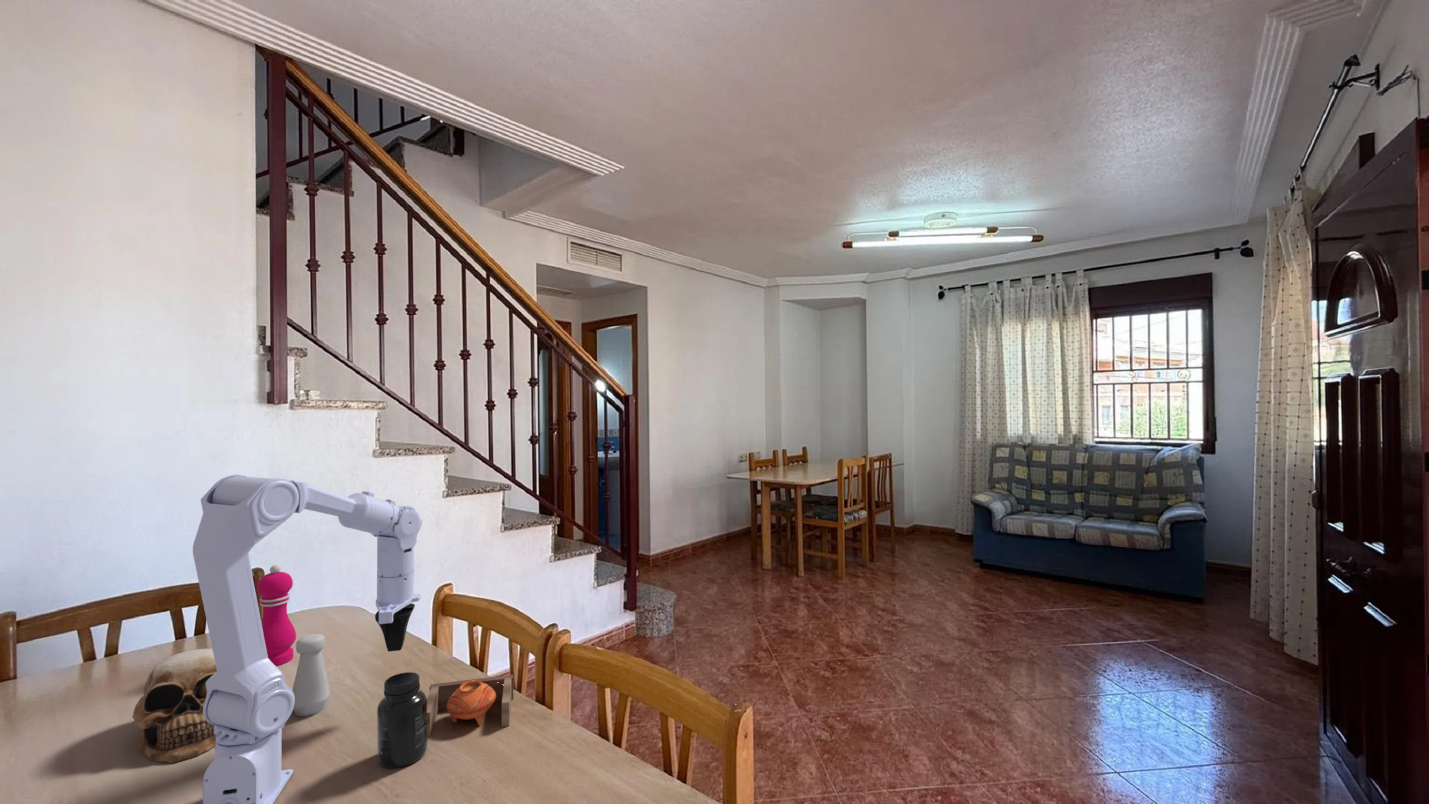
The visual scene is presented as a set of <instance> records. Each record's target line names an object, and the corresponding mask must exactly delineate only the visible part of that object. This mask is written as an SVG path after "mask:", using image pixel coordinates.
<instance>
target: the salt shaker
mask: <svg viewBox="0 0 1429 804" xmlns="http://www.w3.org/2000/svg"><path fill="white" fill-rule="evenodd" d="M325 647H326V637H325V635H323V634H320V633H313V634H312V633H311V634H307V635H304V636H302V637H300V638H299V639H298V640H297V641H295V650H296V653H297V654H300V655H299V660H298V665H297V670H296V674H295V676H294V682H293V686H292V689H291V690H292V691H293V693H294V697H295V703H294V708H293V710H292V711H294V714H295V715H296V716H300V717H310V716H312V715H316V714H318V713H320V712H321V711H322V710H323V709H325V707H326V705H327V704H328V700H329V698H330V695H331V692H330V691H331V690H330V686H329V685H330V684H329V681H328V676H327V670H326V665H325V660H324V655H323V652H322V650H323V649H324V648H325Z"/></svg>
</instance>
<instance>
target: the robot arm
mask: <svg viewBox="0 0 1429 804" xmlns="http://www.w3.org/2000/svg"><path fill="white" fill-rule="evenodd" d="M200 502H201V503H200V505H201V510H202V516H201V519H200V522H199V525H198V528H197V531H196V535H195V539H194V540H193V545H192V556H193V560H194V565H195V571H196V576H197V580H198V585H199V591H200V594H201V599H202V604H203V609H204V610H203V611H204V614H205V619H206V623H207V628H208V632H209V633H208V634H209V637H210V643H211V649H213V654H214V659H215V664H216V668H217V672H216V673H215V674H213V675H212V676H211V677H210V678H209V679H208V680H207V681H206V688H207V696H206V699H205V703H204V706H203V715H204V718H205V720H206V721H207V722H208V723H210V724H213V725H214V734H216V746H215V751H214V756H213V758H212V760H211V762H210V763H209V765H208V767H207V768H206V770H205V772H204V774H203V777H202V779H203V780H202V804H274V803H275V801H276V800H277V798H278V796H279V795H280V794H281V792H282V790H283V789H284V787H285V786H286V784H287V783H288V781H289V779H290V778H291V777H292V775H293V773H294V769H293V768H289V769H282V763H283V762H282V761H283V759H282V756H283V755H282V754H283V753H282V749H283V748H282V745H283V744H282V740H283V739H282V732H283V731H282V729H283V728H285V724H286V723H287V721H288V720H289V718H290V716H291V715H292V713H293V711H294V710H293V708H294V703H295V697H294V693H293V691H292V690H293V689H292V688H290V687H289V686H288V685H287V684H286V682H285V678H284V674H283V672H282V671H281V670H280V669H279V668H278V666H275V665H274V664H273V663H272V662H271V661H270V660H269V658H268V656H267V650H266V645H265V640H264V634H263V629H262V624H261V622H262V619H261V614H260V609H259V603H258V598H257V593H256V588H255V583H254V576H253V572H252V567H251V562H250V561H251V560H250V554H249V552H251V550H252V549H253V548H254V547H255V545H256V544H258V543H259V542H260V541H262V540H263V539H264V538H266V537H267V536H268V535H270V534H271V533H272V532H273V531H274V530H276V529H278V527H280V526H281V525H282V524H284V523H285V522H286V521H287V520H289V518H291V517H292V516H293V515H294V514H295V513H296V514H300V513H302V512H303V511H304V510H307V511H308V510H309V511H311V512H317V513H323V514H324V515H325V514H327V515H330V516H335V517H337V518H338V519H337V520H338V521H339V523H340V524H341V526H343V527H345V528H348V529H351V530H356V531H360V532H365V533H368V534H371V536H373V537H376V541H377V545H376V546H377V547H376V549H377V551H376V563H377V564H376V567H377V568H376V599H375V607H376V608H377V610H378V611H377V612H376V613H375V614H374V619H375V622H376V623H377V625H379V628H380V629H381V632H382V635H383V637H384V643H385V646H386V649H387V652H389V653H390V652H398V651H399V652H400V651H402V648H403V647H404V643H405V639H406V633H407V628H408V624H409V620H410V618H411V616H412V613H413V611H414V609H415V604H414V603H415V602H419V601H420V600H421V599H422V595H421V594H419V593H418V594H414V576H415V575H414V570H415V567H414V563H415V561H414V560H415V559H414V558H415V557H414V555H415V554H414V553H415V552H414V551H415V550H414V548H415V547H416V544H417V538H418V534H419V532H420V530H421V527H422V523H423V519H421V516H420V513H419V512H418V511H417V510H416V509H415V508H414V507H413V506H407V505H406V506H405V505H397V504H396V501H395V500H394V499H389V498H387V499H385V500H383V499H381V498H377V497H375V493H374V492H373V491H372V492H371V491H365V490H362V492H356V493H355V492H354V493H352V494H350V495H349V496H346V495H342V494H339V493H336V492H334V491H331V490H327V489H326V488H323V487H319V486H317V485H314V484H311V483H308V482H305V481H299V480H289V479H287V478H284V477H274V478H271V477H269V478H268V477H256V476H246V475H240V474H232V475H226V476H225V477H222V478H221V479H219V480H218V481H216V483H214V484H213V485H212V486H211V488H210V489H208V491H207V492H206V493H204V495H203V496H202V497H201V498H200Z"/></svg>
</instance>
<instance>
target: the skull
mask: <svg viewBox="0 0 1429 804" xmlns="http://www.w3.org/2000/svg"><path fill="white" fill-rule="evenodd" d="M216 672H217V668H216V664H215V659H214V654H213V649H212V648H200V649H199V648H198V649H194V650H192V649H191V650H188V651H183V652H180V653H176V654H174V655H171V656H169V657H167V658H166V659H163V660H162V661H160V662H159V663H158V664H156V666H154V667H153V669H152V670H151V671H150V673H149V674H148V676H147V678H146V681H145V685H144V688H143V695H142V696H141V697H140V699H139V700H138V701H137V702H136V703H135V707H134V709H133V714H132V719H133V720H134V721H133V722H134V723H135V724H136V727H138V728H139V729H140V731H139V741H138V743H139V748H140V751H141V752H142V753H143V754H144V755H145V757H146V758H148V759H149V760H150V762H155V763H161V762H162V763H171V764H174V763H175V764H176V763H178V762H182V761H186V760H189V759H192V758H195V757H197V756H199V755H201V754H204V753H206V752H208V751H210V750H212V749H213V748H215V747H216V734H214V725H213V724H210V723H208V722H207V721H206V720H205V718H204V715H203V706H204V703H205V699H206V696H207V688H206V681H207V680H208V679H209V678H210V677H211V676H212V675H213V674H215V673H216Z"/></svg>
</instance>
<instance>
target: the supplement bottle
mask: <svg viewBox="0 0 1429 804" xmlns="http://www.w3.org/2000/svg"><path fill="white" fill-rule="evenodd" d="M383 683H384V684H383V686H384V688H383V695H384V697H383V698H382V699H381V700H380V701H379V703H378V704H377V708H376V723H377V727H376V730H377V733H376V734H377V736H376V738H377V761H378V763H379V765H380V766H381V767H383V768H387V769H398V768H403V767H406V766H409V765H412V764H414V763H416V762H417V761H419V760H420V759H421V758H422V757H423V756H424V755H425V754H426V752H427V749H428V737H427V698H428V696H427V695H426V693H425V691H423V690H422V689H421V683H420V675H419V673H416V672H412V671H411V672H410V671H409V672H407V671H406V672H401V673H398V674H397V673H396V674H393V675H391V676H390V677H388V678H387V679H385V681H384V682H383Z"/></svg>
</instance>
